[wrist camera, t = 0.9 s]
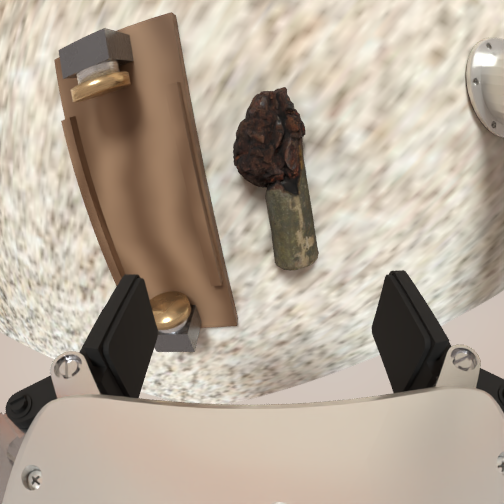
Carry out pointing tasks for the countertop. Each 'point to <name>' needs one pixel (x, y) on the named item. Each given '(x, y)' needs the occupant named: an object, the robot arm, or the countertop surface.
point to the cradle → (150, 175)
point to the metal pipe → (279, 174)
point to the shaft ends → (101, 83)
